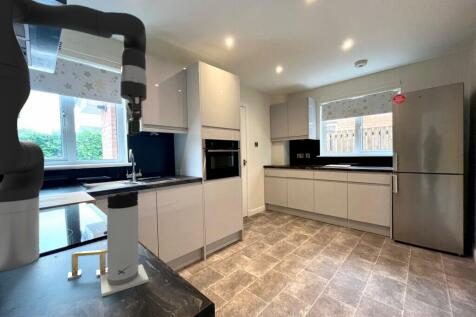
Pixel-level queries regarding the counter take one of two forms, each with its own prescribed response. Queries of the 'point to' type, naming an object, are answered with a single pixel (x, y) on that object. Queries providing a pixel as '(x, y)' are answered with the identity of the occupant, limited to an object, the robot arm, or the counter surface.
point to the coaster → (110, 288)
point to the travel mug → (122, 238)
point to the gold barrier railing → (102, 253)
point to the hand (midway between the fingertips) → (133, 134)
